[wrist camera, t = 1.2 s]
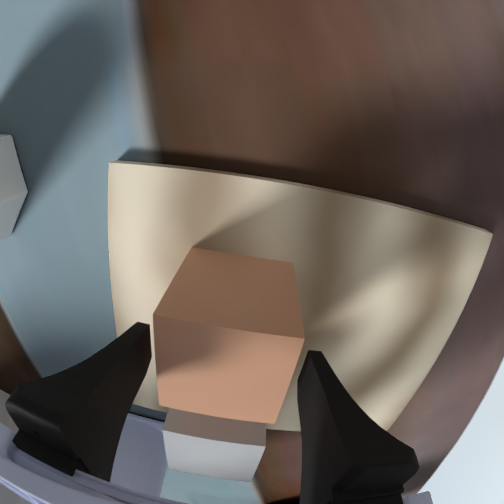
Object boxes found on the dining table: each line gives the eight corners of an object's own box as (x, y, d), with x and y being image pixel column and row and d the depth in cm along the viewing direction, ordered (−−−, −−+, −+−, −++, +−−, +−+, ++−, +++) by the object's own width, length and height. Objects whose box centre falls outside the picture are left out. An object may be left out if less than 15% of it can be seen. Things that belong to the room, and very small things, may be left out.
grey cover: (185, 402, 22) (168, 468, 16) (186, 354, 20) (162, 429, 14) (254, 413, 22) (250, 482, 16) (267, 367, 20) (265, 446, 14)
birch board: (132, 395, 24) (129, 402, 23) (117, 160, 16) (109, 162, 15) (385, 422, 24) (387, 430, 23) (485, 229, 16) (493, 234, 15)
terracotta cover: (187, 327, 19) (159, 404, 13) (191, 247, 17) (152, 314, 11) (274, 341, 19) (274, 423, 13) (292, 262, 17) (305, 338, 11)
